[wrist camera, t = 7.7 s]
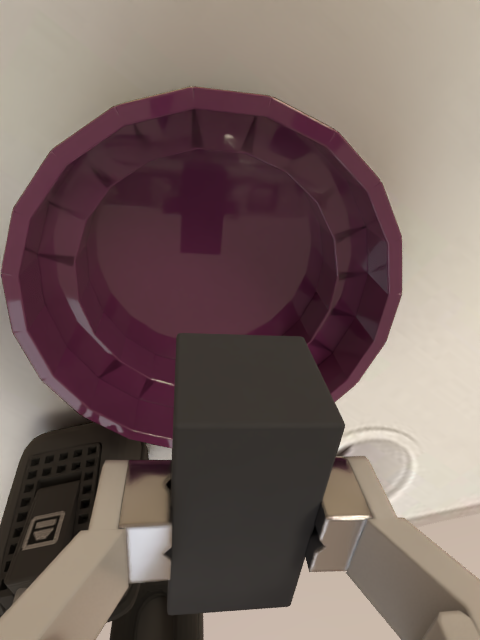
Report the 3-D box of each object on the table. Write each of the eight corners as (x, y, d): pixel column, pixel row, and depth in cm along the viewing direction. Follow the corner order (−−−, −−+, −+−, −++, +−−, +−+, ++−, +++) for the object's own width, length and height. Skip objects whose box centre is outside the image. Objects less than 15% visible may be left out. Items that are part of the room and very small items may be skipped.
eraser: (176, 331, 9) (173, 425, 7) (304, 334, 10) (347, 425, 7) (171, 504, 12) (166, 617, 9) (269, 500, 13) (291, 608, 10)
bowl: (21, 65, 15) (-43, 57, 11) (394, 110, 18) (461, 118, 13) (63, 382, 23) (35, 452, 18) (322, 385, 25) (350, 448, 21)
